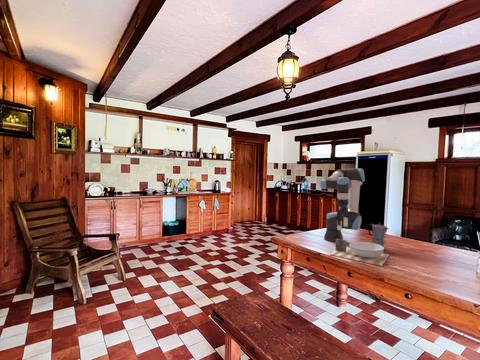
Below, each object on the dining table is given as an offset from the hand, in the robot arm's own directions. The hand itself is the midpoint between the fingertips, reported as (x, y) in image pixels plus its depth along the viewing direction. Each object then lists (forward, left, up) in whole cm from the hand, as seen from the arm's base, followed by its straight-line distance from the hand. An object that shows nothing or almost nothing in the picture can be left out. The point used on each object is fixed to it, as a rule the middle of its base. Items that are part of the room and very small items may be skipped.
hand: (342, 228), depth 182 cm
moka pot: (+18, +25, -17) cm, 35 cm away
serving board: (+12, 0, -17) cm, 21 cm away
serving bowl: (+16, 0, -17) cm, 23 cm away
